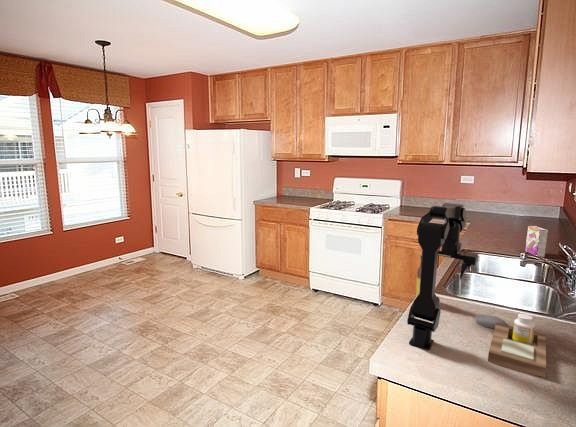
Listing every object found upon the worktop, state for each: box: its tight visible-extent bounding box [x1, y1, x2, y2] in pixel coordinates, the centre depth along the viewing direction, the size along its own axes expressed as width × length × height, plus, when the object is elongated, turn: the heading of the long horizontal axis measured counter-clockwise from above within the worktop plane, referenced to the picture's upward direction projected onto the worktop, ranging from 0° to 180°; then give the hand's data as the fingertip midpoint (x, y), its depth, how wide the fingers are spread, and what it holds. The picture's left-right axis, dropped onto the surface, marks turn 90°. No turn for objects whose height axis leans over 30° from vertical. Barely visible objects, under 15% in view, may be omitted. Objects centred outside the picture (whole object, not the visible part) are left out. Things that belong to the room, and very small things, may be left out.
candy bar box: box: [524, 225, 549, 258], centre depth 212 cm, size 11×5×16 cm, turn 179°
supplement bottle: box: [511, 313, 536, 345], centre depth 115 cm, size 6×6×10 cm
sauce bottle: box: [415, 253, 422, 298], centre depth 148 cm, size 7×6×20 cm
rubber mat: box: [474, 314, 508, 330], centre depth 132 cm, size 10×10×1 cm
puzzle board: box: [487, 323, 547, 379], centre depth 112 cm, size 22×14×4 cm, turn 145°
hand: (447, 276), depth 137 cm, fingers open, 9 cm apart
